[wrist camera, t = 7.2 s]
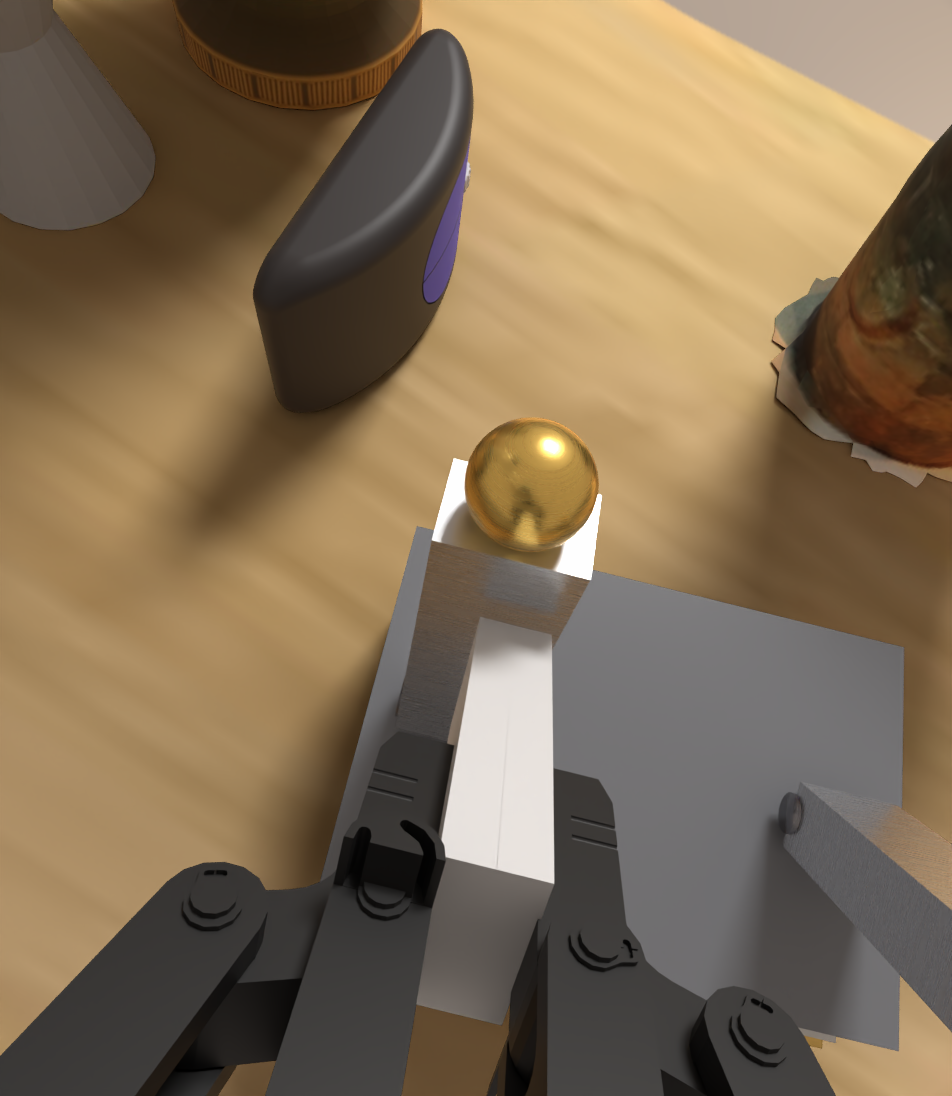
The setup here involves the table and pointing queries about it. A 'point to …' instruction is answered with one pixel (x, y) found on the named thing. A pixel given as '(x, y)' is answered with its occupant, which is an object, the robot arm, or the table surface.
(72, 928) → the table surface
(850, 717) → the console
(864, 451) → the vessel
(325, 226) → the dark grey curved slab
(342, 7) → the vase
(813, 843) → the lever
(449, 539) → the lever
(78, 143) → the lava lamp
